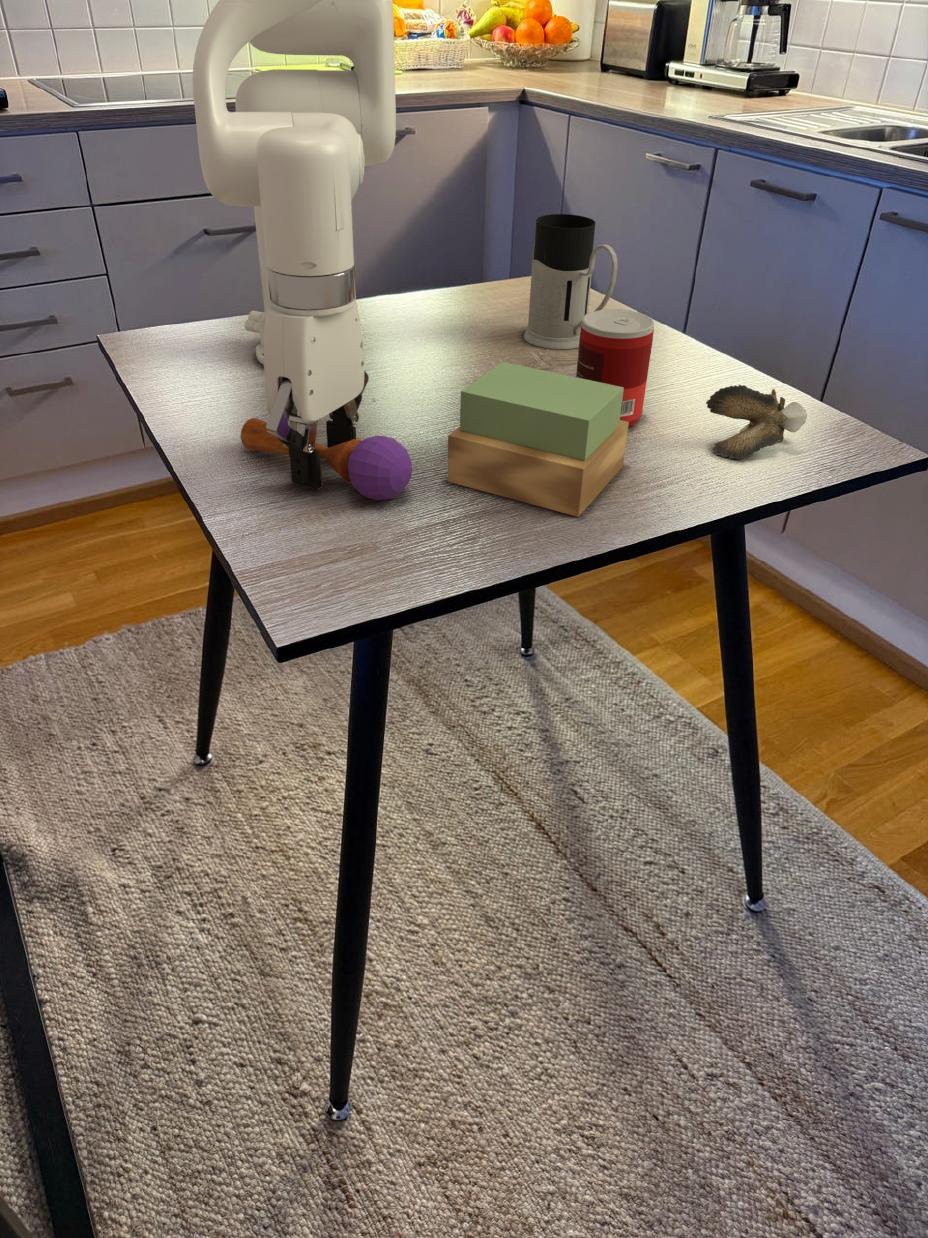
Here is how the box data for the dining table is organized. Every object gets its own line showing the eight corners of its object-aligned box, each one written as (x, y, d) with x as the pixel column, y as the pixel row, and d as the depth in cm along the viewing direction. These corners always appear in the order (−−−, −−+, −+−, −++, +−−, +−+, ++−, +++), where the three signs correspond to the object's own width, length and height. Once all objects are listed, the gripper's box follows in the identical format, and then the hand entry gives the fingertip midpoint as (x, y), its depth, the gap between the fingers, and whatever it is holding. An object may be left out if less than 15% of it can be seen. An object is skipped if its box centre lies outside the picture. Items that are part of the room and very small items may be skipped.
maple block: (447, 481, 93) (447, 434, 90) (500, 437, 101) (502, 393, 98) (578, 517, 88) (583, 468, 85) (623, 467, 96) (629, 421, 93)
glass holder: (559, 323, 132) (569, 209, 124) (630, 353, 123) (645, 233, 114) (510, 334, 128) (517, 217, 119) (579, 366, 119) (592, 242, 110)
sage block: (459, 430, 91) (460, 390, 88) (500, 398, 97) (502, 361, 95) (584, 461, 86) (589, 420, 84) (619, 425, 92) (624, 387, 90)
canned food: (651, 412, 108) (665, 316, 101) (624, 437, 102) (637, 337, 96) (590, 397, 111) (600, 304, 104) (560, 421, 105) (569, 323, 99)
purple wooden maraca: (273, 401, 98) (426, 437, 88) (274, 457, 100) (422, 499, 90) (229, 408, 93) (385, 448, 83) (231, 467, 96) (383, 512, 86)
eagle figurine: (749, 411, 106) (690, 410, 101) (794, 371, 100) (733, 368, 95) (776, 468, 103) (717, 470, 99) (823, 431, 97) (762, 431, 93)
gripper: (332, 257, 90) (342, 433, 100) (214, 305, 78) (239, 499, 88) (399, 269, 87) (402, 449, 98) (287, 320, 75) (305, 519, 85)
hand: (325, 471), depth 93 cm, fingers closed on purple wooden maraca, 5 cm apart
